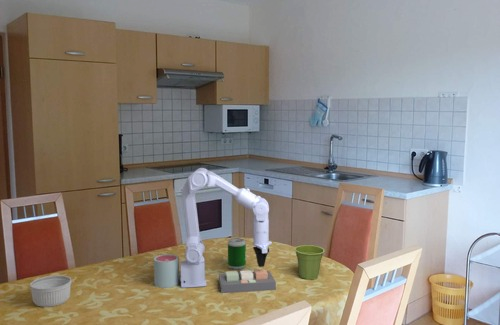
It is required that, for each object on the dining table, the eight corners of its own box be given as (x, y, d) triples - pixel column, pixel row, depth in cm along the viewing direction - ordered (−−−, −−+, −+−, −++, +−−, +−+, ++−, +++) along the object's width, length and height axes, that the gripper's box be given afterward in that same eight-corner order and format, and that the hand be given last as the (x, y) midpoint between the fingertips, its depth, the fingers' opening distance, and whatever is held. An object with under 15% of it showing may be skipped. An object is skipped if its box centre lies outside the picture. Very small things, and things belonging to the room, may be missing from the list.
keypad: (221, 293, 166) (221, 284, 165) (218, 281, 178) (218, 273, 177) (275, 289, 169) (275, 281, 169) (269, 278, 181) (269, 270, 180)
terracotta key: (256, 283, 171) (256, 274, 171) (254, 278, 176) (254, 270, 175) (267, 282, 172) (267, 273, 172) (265, 278, 176) (265, 269, 176)
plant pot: (309, 284, 174) (310, 255, 173) (287, 276, 183) (288, 248, 182) (330, 277, 182) (330, 249, 180) (308, 269, 191) (308, 243, 189)
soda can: (245, 270, 189) (245, 242, 188) (227, 270, 189) (227, 242, 188) (246, 264, 196) (246, 237, 195) (228, 264, 197) (228, 237, 195)
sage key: (226, 284, 170) (226, 275, 169) (225, 280, 174) (225, 271, 174) (238, 284, 170) (238, 275, 170) (237, 279, 175) (237, 271, 174)
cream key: (241, 284, 171) (241, 274, 170) (240, 279, 175) (239, 270, 174) (253, 283, 171) (253, 274, 171) (251, 279, 176) (251, 270, 175)
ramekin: (60, 290, 168) (59, 272, 168) (79, 299, 160) (78, 280, 159) (23, 301, 158) (22, 282, 157) (42, 312, 150) (41, 292, 149)
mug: (174, 288, 170) (173, 262, 169) (150, 286, 172) (149, 261, 171) (186, 275, 183) (186, 251, 182) (164, 274, 185) (164, 250, 184)
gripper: (275, 235, 165) (275, 272, 167) (267, 225, 180) (267, 259, 181) (256, 236, 164) (256, 273, 166) (249, 226, 178) (250, 260, 180)
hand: (261, 266), depth 173 cm, fingers closed
